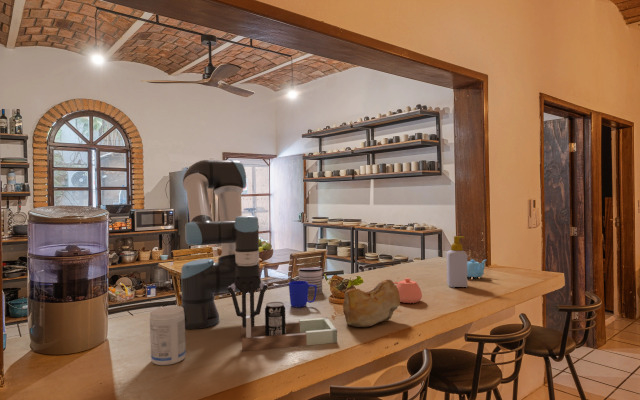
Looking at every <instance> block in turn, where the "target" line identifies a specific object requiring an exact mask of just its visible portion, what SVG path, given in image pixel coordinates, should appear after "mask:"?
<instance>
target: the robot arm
mask: <svg viewBox="0 0 640 400" xmlns="http://www.w3.org/2000/svg"><path fill="white" fill-rule="evenodd" d="M182 177H183V178H182V185H183V186H182V187H183V189H184V190H185V192H186V196H187V205H188V216H189V222H186V223H185V224H184V225H185V226H184V235H185V243H186V244H187V245H189V246H193V245H195V246H196V245H197V246H200V245H201V246H203V245H216V244H218V245H219V244H220V245H221V254H220V255H219V256H218V257H217V260H218V261H217V262H215V260H214V259H213V258H202V259H195V260H192V261H188V262H186V263H184V264H183V265H182V266H181V271H180V272H181V273H180V279H181V305H180V307H183V308H184V317H185V330H187V329H188V330H195V329H196V330H198V329H205V328H206V329H207V328H209V327H213V326H215V325H217V324H218V323H219V322H220V314H219V311H218V308H217V306H216V302H215V294H224V293H230V295H231V299H232V303H233V306H234V310H235V314H236V316H237V317H241V320H242V323H241V326H243V328H244V327H246V337H245V338H250V337H251V327H254V325H255V317H256V316H260V313H261V309H262V306H263V301H264V296H265V293H266V291H267V289H268V287H269V286H268V284H267V283H264V282H262V280H261V278H260V264H259V262H260V247H259V246H260V244H259V241H260V240H259V230H260V229H259V228H260V225H259V218H258V217H257V215H242V211H241V209H242V207H241V197H240V195H241V194H243V192H244V189H245V188H246V187H247V174H246V170H245V166H244V163H242V162H241V161H239V160H232V159H228V160H223V159H222V160H220V159H219V160H217V159H215V160H213V159H211V160H209V159H204V160H202V159H201V160H199V161H196V162H195V163H193V164H192V165H191V166H189V167H188V168H187V170H186V171H185V173H184V175H183V176H182ZM208 189H213V193H214V195H216V196H217V198H218V211H219V213H218V214H219V220H218V221H214V220H213V215H212V209H211V203H210V199H209V193H208V192H209V191H208ZM258 288H259V289H260V291H259V295H258V299H257V302H256V303H257V304H256V308H255V292H256V291H257V289H258ZM236 292H238V293H241V310H240V307H239V302H238V298H237V295H236ZM248 293H249V310H250V311H249V315H247V294H248Z"/></svg>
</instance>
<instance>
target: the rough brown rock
mask: <svg viewBox="0 0 640 400" xmlns="http://www.w3.org/2000/svg"><path fill="white" fill-rule="evenodd" d="M393 282H394V281H393V280H391V279H385V280H382V281H381V282H379V283H378V284H377V285H376V286H375V287H374V288H373V289H372V290H368V291H364V290H361V289H360V288H351V289H350V288H349V289H347V290H345V292H344V299H343V304H342V309H343V315H344V319H345V321H346V324H347V325H349V326H351V327H355V328H361V327H363V328H364V327H371V326H374V325H377V324H379V323H382V322H387V321H389V320H391V318H392V316H393V314H394V312H395V311H396V310H397V309H398V307H399V306H400V305H401V303H400V295H399V291H398V288H397V287H396V286H397V284H394V283H393Z"/></svg>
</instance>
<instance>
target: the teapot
mask: <svg viewBox="0 0 640 400" xmlns="http://www.w3.org/2000/svg"><path fill="white" fill-rule="evenodd" d="M469 260H470V261H467V277H468V278H470V277H474V278H477V277H481V278H482V277H483V276H484V274H485V271H484V270H485V265H486V264H485V263H486V262H487V259H483V260H482V262H478V261H476V260H475V259H469Z"/></svg>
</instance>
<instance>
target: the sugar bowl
mask: <svg viewBox="0 0 640 400" xmlns="http://www.w3.org/2000/svg"><path fill="white" fill-rule="evenodd" d="M393 283H394V285H396V287H397V288H398V291H399V295H400V302H403V303H402V304H406V303H407V304H411V303H415V304H416V303H419V302H420V301H421V300H422V298H423V293H422V290H421V287H420V286H419V284H418V283H417V281H415V280H411V278H410V277H406V278H404V280H399V281H393Z"/></svg>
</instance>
